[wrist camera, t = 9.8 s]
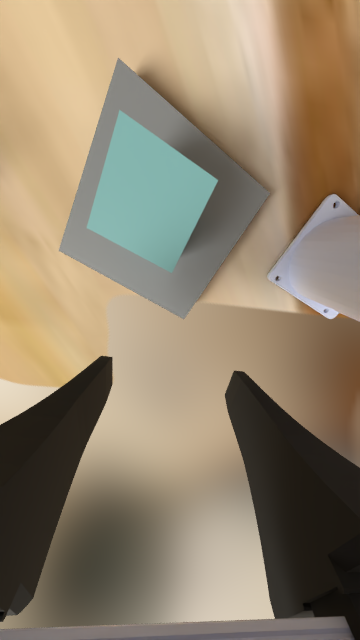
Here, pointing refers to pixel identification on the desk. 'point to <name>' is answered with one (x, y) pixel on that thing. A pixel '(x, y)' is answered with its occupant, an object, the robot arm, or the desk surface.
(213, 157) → the slate base
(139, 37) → the desk surface
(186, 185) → the teal block
